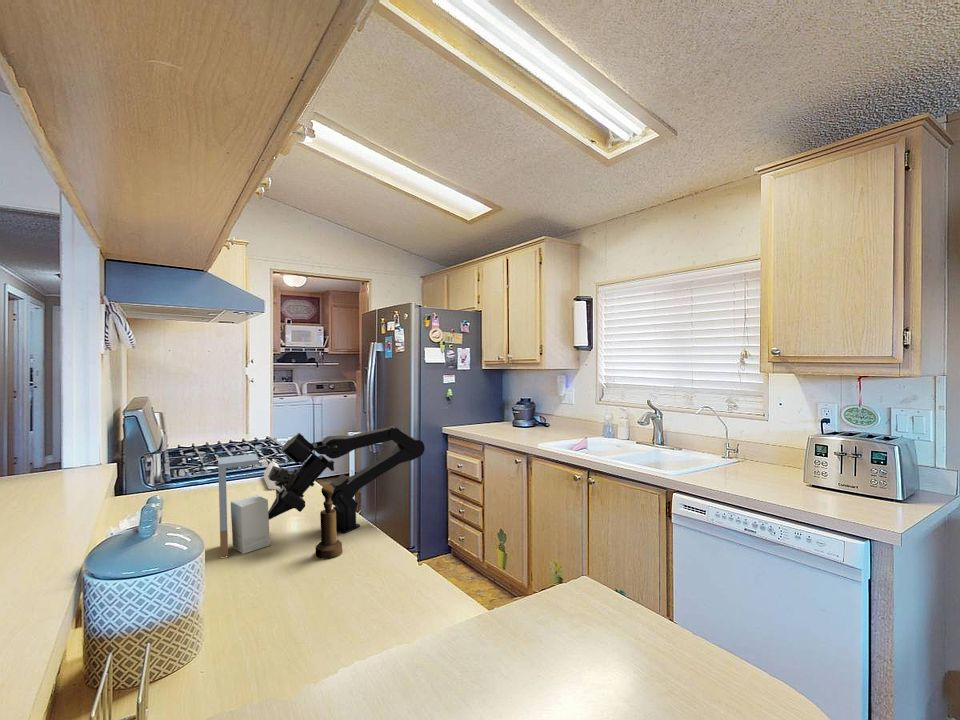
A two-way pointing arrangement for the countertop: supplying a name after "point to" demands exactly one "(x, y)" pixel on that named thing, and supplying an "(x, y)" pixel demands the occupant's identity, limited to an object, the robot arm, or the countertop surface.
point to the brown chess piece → (328, 528)
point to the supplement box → (250, 523)
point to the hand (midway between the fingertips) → (266, 518)
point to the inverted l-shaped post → (222, 465)
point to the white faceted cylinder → (269, 483)
